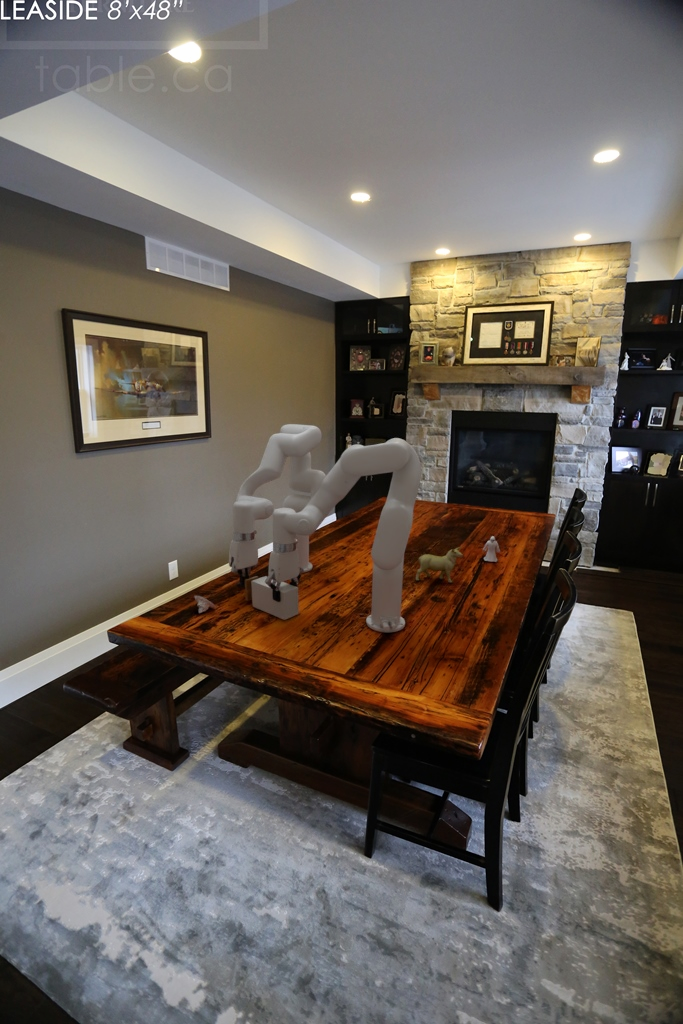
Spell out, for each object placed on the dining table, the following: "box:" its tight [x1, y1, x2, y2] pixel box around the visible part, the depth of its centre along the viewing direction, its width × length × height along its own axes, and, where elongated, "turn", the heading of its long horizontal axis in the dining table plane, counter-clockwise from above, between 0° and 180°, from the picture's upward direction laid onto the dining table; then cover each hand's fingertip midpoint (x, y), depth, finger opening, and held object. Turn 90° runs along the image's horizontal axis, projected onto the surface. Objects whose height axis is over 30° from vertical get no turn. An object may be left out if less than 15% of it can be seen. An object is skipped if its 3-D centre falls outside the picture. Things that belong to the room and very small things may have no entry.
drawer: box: [236, 575, 259, 602], centre depth 175 cm, size 21×5×8 cm, turn 49°
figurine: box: [482, 535, 501, 563], centre depth 223 cm, size 8×8×12 cm
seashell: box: [193, 595, 217, 614], centre depth 168 cm, size 8×5×8 cm
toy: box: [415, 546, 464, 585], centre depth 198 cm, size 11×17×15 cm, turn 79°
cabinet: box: [251, 575, 300, 621], centre depth 170 cm, size 16×6×9 cm, turn 49°
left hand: (244, 585), depth 179 cm, fingers closed
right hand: (285, 597), depth 166 cm, fingers closed on cabinet, 6 cm apart
